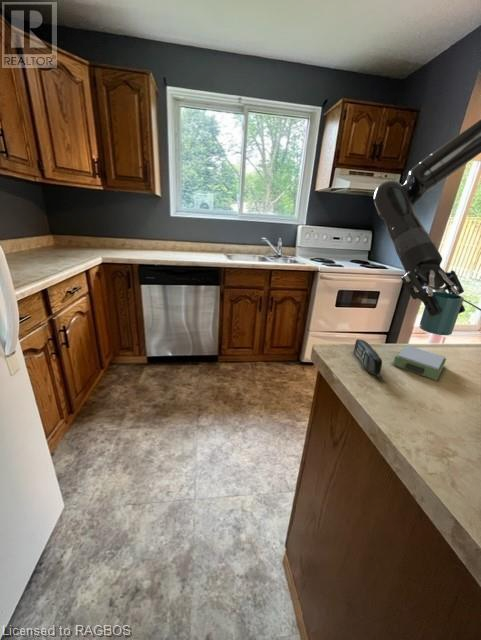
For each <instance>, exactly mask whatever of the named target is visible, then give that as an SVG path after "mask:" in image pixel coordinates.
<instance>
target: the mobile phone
mask: <svg viewBox="0 0 481 640" xmlns="http://www.w3.org/2000/svg"><path fill="white" fill-rule="evenodd" d="M354 343H355V344H354V347H353V355H355V356H356V358H357V359H358V360H359V361H360V363H361V365H362V367H363V368H364V370H365V371H366V372H368V373H369V374H371V375H373V376H374V375H375V376H376V377H377V378H378V379H379V380H380V381H383V380H384V378H383V377H382V376H381V371H382V368H383V367H382V366H383V360H382V358H381V357H380V355H379V354H378V353H377V351H376V350H375V349H373V347H372V345H370V344H369V343H368V342H367V341H366V340H363V339H359V338H358V339H356V340H355V342H354Z"/></svg>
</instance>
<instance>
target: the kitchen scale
mask: <svg viewBox="0 0 481 640" xmlns="http://www.w3.org/2000/svg"><path fill="white" fill-rule="evenodd" d="M393 360H394V362H393V364H392V366H394V367H397V368H400V369H404V370H406V371H409V372H411V373H415V374H417V375H421V376H423V377H426V378H429V379H432V380H435V381H437V380H438V379H439V376H440V375H441V372H442V370H443V369H444V367H445V364H446V362H447V358H446V356H444V355H442V354H438V353H434V352H432V351H428V350H424V349H422V348H418V347H414V346H411V345H405V346H404V347H403V348H402V350H401V351H400V352H398V353H397V354H396V356H395V357H394V359H393Z"/></svg>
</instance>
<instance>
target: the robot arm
mask: <svg viewBox="0 0 481 640" xmlns="http://www.w3.org/2000/svg"><path fill="white" fill-rule="evenodd" d="M479 155H481V118H480V119H478V120H477V121H476V122H475V123H474V124H472V125H471V126H469V127H468V128H467V129H465V130H464V131H462V132H461V133H458V135H456V136H454V137H453V138H452V139H450V140H449V141H447V142H446V143H444V144H442V145H441V146H440V147H438V148H437V149H436V150H434V151H433V152H431V153H430V154H429V155H428V156H426V157H425V158H423V159H422V160H421V161H419V162H418V163H417V164H416V165H414V166H413V167H412V168H411V169H410V170H409V171H408V173H407V177H406V179H405V182H404V183H403V184H402V183H401V182H398V181H396V180H387V181H384V182H382V183H381V184H380V185H379V186H377V188H376V189H375V191H374V194H373V203H374V206H375V208H376V213H377V214H378V216H379V217H380V218H381V219H382V220H383V222H384V223H385V226H386V231H387V233H388V235H389V238H390V240H391V242H392V244H393V246H394V250H395V253H396V255H397V257H398V260H399V261H400V263H401V265H402V267H403V269H404V271H405V274H404V275H402V276H401V281H402V282H403V284H404V286H405V288H406V289H407V291H408V293H409V295H410V296H411V298H412V299H413V300H417V299H418V300H419V301H420V302H421V303H423V306H424V308H425V307H426V309H427V311H428V313H429V314H430V316H436V315H438V314H440V313H441V309H440V307H439V305H438V303H437V301H436V299H435V297H432V296H433V292H445V293H451V294H455V295H459V296H460V295H462V294H463V293H464V292H465V290H464V288H463V286H462V284H461V281H460V279H459V277H458V275H457V273H456V271H454V270H450V271H447V272H446V271H445V270H444V269H443V268H442V267H441V263H442V262H443V257H442V255H441V252H440V251H439V250H438V248H437V246H436V244H435V243H434V240H433V239H432V237H431V235H430V234H429V233H428V231H427V230H426V229H425V227H424V225H423V224H422V222H421V220H420V218H419V217H418V215H417V214H416V212H415V210H414V208H413V206H414V205H416V203H418V201H420V200H421V198H422V197H423V196H424V195H425V194H426V193H427V192H429V191H430V190H431V189H433V188H434V187H436V186H437V185H439V184H440V183H442V182H443V181H444V180H446V179H447V178H449V177H450V176H451V175H452V174H454V173H456V172H457V171H458V170H460V169H461V168H463V167H464V166H465V165H467V164H468V163H469V162H470V161H472V160H473V159H475V158H476V157H477V156H479ZM415 289H416V290H415ZM463 302H465V303H466V304H468V305H470V306H471V307H474V308H475V309H476V310H478V311H480V312H481V308H480V307H478V306H477V305H475V304H473V303H471V302H469V301H468V300H466V299H464V300H463ZM465 311H466V308H465V306H464V304H463V303H462V306H461V309H460V312H459V314H458V315H460V314H462V313H464V312H465Z"/></svg>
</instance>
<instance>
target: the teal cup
mask: <svg viewBox="0 0 481 640" xmlns="http://www.w3.org/2000/svg"><path fill="white" fill-rule="evenodd" d="M432 297H435V299H436V301H437V303H438V305H439V307H440V309H441V313H440V314H438V315H436V316H430V314H429V313H428V311H427V309H426V307H425V306H424V309H423V311H422V315H421V318H420V322H419V326H418V327H419V329H421V330H422V331H424V332H426V333H429V334H433V335H438V336H451V335H452V334H453V331H454V329H455V326H456V323H457V320H458V317H459V315H460V314H459V312H460V309H461V306H462V304H463V303H464V301H463V300H465V297H463V296H461V295H460V294H459V295H455V294H451V293H449V292H447V293H445V292H436V291H433V296H432Z"/></svg>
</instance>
